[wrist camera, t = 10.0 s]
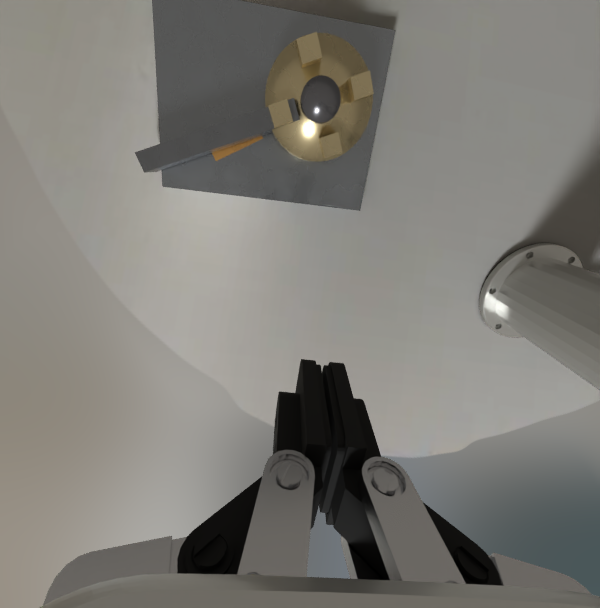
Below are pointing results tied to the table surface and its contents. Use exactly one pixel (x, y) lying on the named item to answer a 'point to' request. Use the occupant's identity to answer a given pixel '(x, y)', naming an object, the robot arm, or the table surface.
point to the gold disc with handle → (291, 107)
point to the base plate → (252, 98)
